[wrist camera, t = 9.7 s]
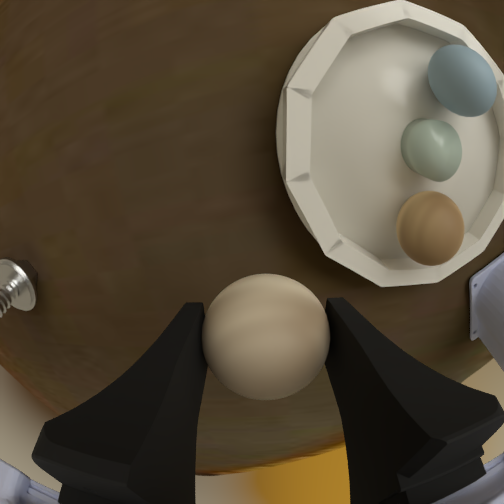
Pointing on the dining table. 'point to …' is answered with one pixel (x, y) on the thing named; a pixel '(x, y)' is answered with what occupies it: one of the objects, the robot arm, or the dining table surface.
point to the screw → (17, 285)
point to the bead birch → (265, 336)
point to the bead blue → (462, 80)
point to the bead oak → (430, 228)
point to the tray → (385, 140)
